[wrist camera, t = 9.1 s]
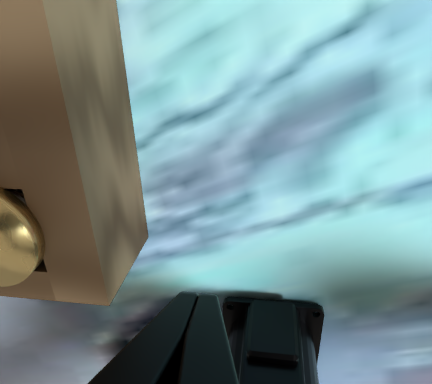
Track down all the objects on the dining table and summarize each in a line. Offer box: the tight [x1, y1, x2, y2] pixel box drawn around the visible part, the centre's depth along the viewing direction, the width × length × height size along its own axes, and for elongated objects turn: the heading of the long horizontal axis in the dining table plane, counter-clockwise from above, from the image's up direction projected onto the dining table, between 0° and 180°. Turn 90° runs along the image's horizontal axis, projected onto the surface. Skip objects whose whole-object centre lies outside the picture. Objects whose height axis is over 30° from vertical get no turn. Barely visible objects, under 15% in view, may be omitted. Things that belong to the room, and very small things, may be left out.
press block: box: [0, 0, 148, 306], centre depth 16 cm, size 19×10×6 cm, turn 2°
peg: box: [0, 186, 46, 287], centre depth 18 cm, size 5×5×6 cm
